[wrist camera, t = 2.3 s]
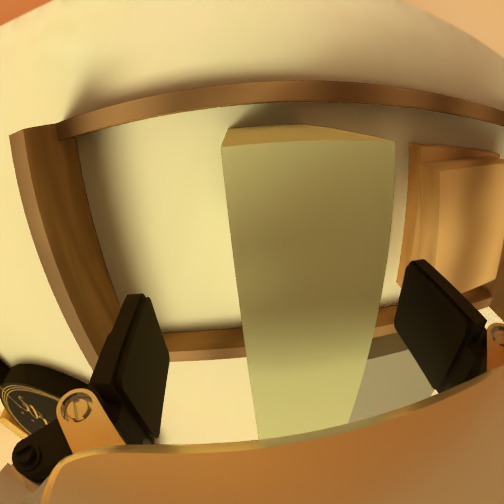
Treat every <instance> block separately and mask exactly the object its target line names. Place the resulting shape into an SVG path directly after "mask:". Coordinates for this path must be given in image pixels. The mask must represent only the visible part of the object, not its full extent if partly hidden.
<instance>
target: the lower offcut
mask: <svg viewBox="0 0 504 504" xmlns="http://www.w3.org/2000/svg"><path fill="white" fill-rule="evenodd" d="M486 156H493V157H496V158H499V157H500V154H497V153H494V152H491V151H487V150H479V149H471V148H462V147H453V146H442V145H429V144H413V143H409V174H408V191H407V204H406V215H405V225H404V234H403V242H402V249H401V256H400V263H399V269H398V275H397V281H396V282H397V283H398V284H399V286H400V287H401V288H402V284H403V279H404V274H405V269H406V267H407V266H408V265H409V263H410V262H411V261H414V260H419V248H420V225H421V184H420V164H423V163H430V162H438V161H447V160H456V159H465V158H475V157H486Z"/></svg>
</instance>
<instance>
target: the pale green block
mask: <svg viewBox="0 0 504 504" xmlns="http://www.w3.org/2000/svg"><path fill="white" fill-rule="evenodd" d="M221 154H222V164H223V173H224V182H225V191H226V199H227V208H228V217H229V225H230V233H231V242H232V250H233V258H234V266H235V274H236V282H237V289H238V297H239V305H240V312H241V320H242V327H243V334H244V342H245V349H246V356H247V363H248V370H249V377H250V384H251V391H252V397H253V404H254V411H255V417H256V424H257V430H258V437H259V440H260V439H268V438H276V437H282V436H289V435H295V434H301V433H306V432H311V431H316V430H321V429H326V428H331V427H335V426H339V425H343V424H347V423H348V422H349V419H350V416H351V413H352V410H353V407H354V404H355V400H356V397H357V394H358V391H359V387H360V384H361V380H362V377H363V373H364V370H365V366H366V362H367V358H368V354H369V350H370V346H371V342H372V338H373V333H374V329H375V324H376V320H377V315H378V310H379V305H380V299H381V294H382V288H383V282H384V276H385V270H386V263H387V256H388V248H389V240H390V232H391V222H392V211H393V198H394V182H395V155H396V141H392V140H388V139H383V138H379V137H374V136H370V135H365V134H360V133H355V132H350V131H344V130H339V129H333V128H327V127H321V126H314V125H307V124H284V125H266V126H253V127H241V128H231V129H228V130H227V133H226V135H225V138H224V140H223V143H222V145H221Z"/></svg>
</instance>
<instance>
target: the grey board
mask: <svg viewBox="0 0 504 504" xmlns="http://www.w3.org/2000/svg"><path fill="white" fill-rule="evenodd" d="M433 391H434V389H433V388H432V387H431V385H430V383H429V382H428V380H427V378H426V377H425V375H424V373H423V372H422V370H421V368H420V367H419V365H418V364H417V362H416V360H415V359H414V357H413V356H412V354H411V352H410V351H409V349H408V348H407V346H406V345H405V343H404V342H403V340H402V339H401V337H400V336H399V334H398V332H397V333H393V334H389V335H384V336H380V337H375V338H372V342H371V346H370V350H369V354H368V358H367V362H366V366H365V370H364V373H363V377H362V380H361V384H360V387H359V391H358V394H357V397H356V400H355V404H354V407H353V410H352V413H351V416H350V419H349V422H348V423H351V422H355V421H359V420H363V419H366V418H370V417H373V416H377V415H380V414H383V413H386V412H390V411H393V410H396V409H399V408H402V407H405V406H407V405H410V404H413V403H416V402H419V401H421V400H424V399H426V398H429V397H430V396H431V394H432V392H433Z"/></svg>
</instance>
